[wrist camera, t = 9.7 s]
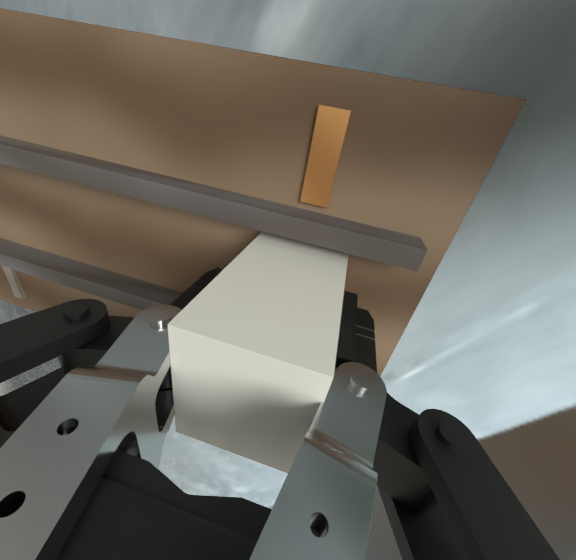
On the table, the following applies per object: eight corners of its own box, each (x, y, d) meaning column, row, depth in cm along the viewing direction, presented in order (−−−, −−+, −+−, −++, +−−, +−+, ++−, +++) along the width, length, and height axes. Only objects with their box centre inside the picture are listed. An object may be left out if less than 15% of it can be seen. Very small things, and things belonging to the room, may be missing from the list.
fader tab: (261, 232, 11) (167, 324, 5) (348, 254, 10) (333, 377, 5) (251, 311, 13) (176, 431, 8) (323, 332, 12) (294, 476, 7)
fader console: (-109, -3, 12) (-246, -42, 9) (495, 106, 9) (553, 94, 6) (11, 278, 20) (-46, 301, 17) (358, 389, 17) (357, 440, 14)
